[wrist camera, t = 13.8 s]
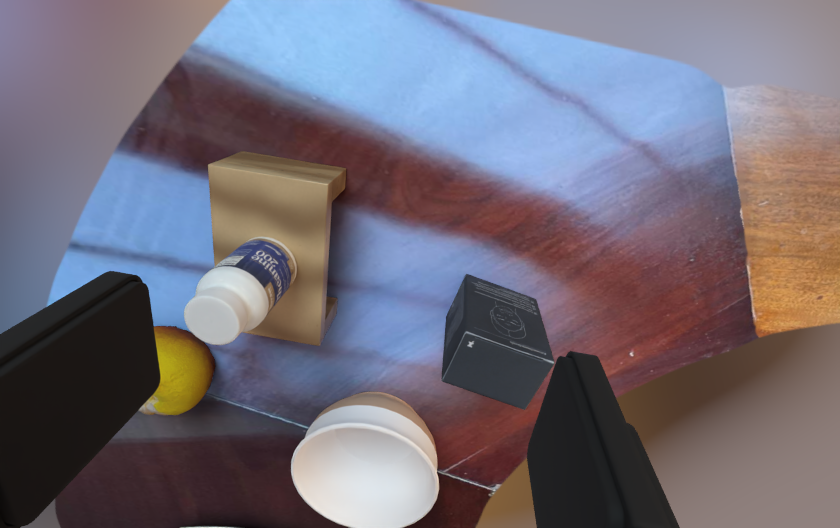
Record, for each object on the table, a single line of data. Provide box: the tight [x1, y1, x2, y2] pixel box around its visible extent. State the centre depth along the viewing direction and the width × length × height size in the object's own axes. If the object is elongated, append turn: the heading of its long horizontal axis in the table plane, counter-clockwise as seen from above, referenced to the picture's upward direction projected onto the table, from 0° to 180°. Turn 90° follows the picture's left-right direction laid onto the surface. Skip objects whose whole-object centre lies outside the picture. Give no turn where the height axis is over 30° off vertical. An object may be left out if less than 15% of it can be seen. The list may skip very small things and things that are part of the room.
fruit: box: [138, 326, 215, 415], centre depth 50 cm, size 11×10×8 cm
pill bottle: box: [184, 237, 297, 345], centre depth 35 cm, size 5×5×10 cm
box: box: [442, 274, 554, 410], centre depth 41 cm, size 8×6×11 cm
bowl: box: [291, 392, 439, 528], centre depth 51 cm, size 16×16×8 cm
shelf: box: [208, 151, 346, 346], centre depth 42 cm, size 16×10×6 cm, turn 172°
